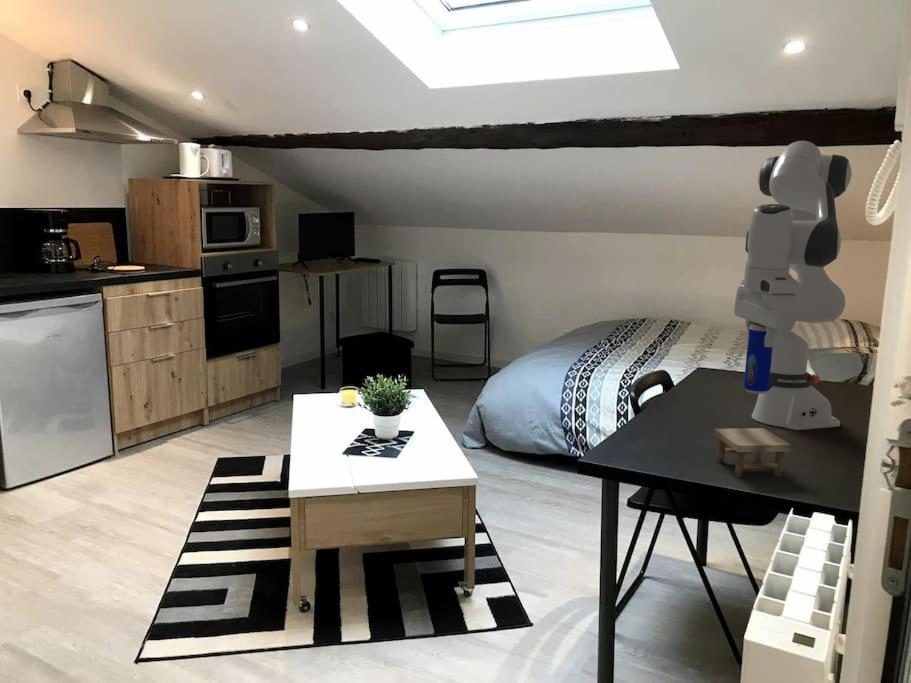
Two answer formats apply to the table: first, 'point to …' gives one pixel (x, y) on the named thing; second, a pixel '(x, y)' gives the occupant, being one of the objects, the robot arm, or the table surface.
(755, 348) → the beverage can
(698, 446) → the table surface
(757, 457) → the stool
